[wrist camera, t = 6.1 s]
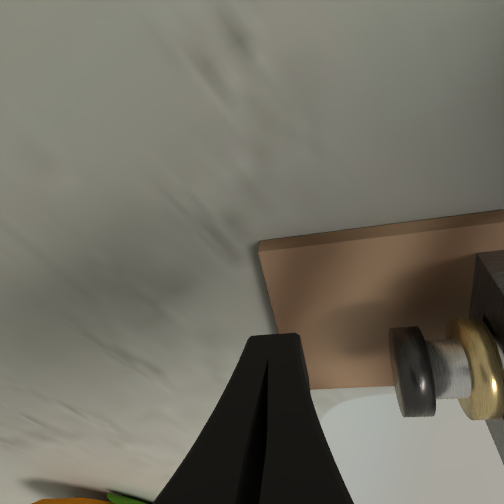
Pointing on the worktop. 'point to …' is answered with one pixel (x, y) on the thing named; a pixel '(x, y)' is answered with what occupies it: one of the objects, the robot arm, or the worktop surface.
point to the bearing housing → (490, 313)
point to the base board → (373, 289)
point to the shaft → (449, 369)
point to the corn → (91, 500)
